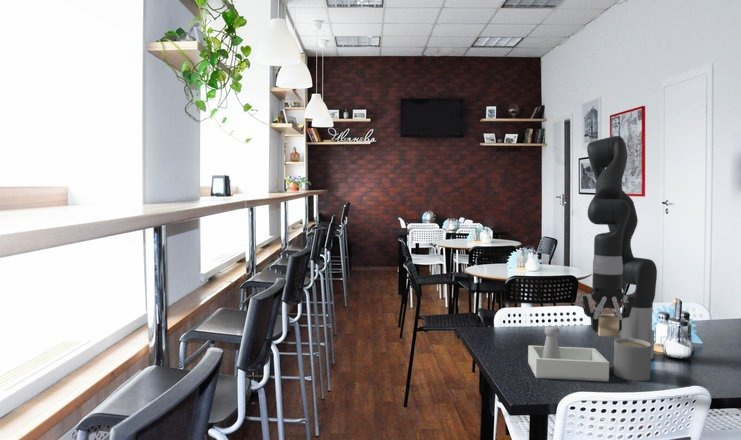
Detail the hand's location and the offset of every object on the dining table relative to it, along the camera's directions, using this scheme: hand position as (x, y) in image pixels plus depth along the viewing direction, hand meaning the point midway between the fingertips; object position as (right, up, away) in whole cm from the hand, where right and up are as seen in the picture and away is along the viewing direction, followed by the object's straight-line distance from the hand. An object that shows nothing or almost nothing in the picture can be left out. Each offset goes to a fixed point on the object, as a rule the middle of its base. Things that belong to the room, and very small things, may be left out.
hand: (606, 331), depth 147 cm
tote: (-6, -15, +15) cm, 22 cm away
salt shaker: (-10, -15, +15) cm, 24 cm away
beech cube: (0, -1, 0) cm, 1 cm away
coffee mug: (+14, -16, +13) cm, 25 cm away
